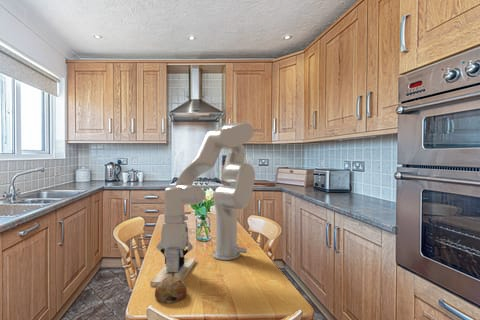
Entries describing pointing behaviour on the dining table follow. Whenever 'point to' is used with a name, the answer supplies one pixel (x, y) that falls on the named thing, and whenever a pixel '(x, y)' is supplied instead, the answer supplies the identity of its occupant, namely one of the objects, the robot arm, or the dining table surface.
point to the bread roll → (170, 290)
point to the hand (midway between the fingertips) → (174, 265)
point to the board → (180, 274)
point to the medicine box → (172, 260)
